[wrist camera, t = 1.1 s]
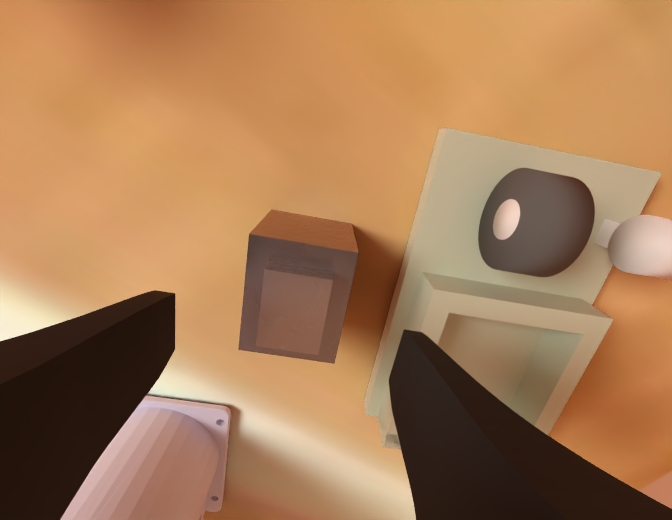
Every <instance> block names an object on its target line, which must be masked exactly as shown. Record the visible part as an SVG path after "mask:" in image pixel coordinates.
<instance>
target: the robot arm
mask: <svg viewBox="0 0 672 520" xmlns="http://www.w3.org/2000/svg"><path fill="white" fill-rule="evenodd" d="M174 350H175V293H168V292H162V291H151V292H147V293H144V294H141V295H138V296H135V297H132V298H129V299H126V300H124V301H121V302H118V303H116V304H113V305H110V306H107V307H105V308H102V309H99V310H96V311H94V312H91V313H88V314H85V315H82V316H80V317H77V318H74V319H71V320H68V321H65V322H62V323H59V324H56V325H52V326H49V327H46V328H43V329H40V330H37V331H34V332H31V333H28V334H24V335H21V336H18V337H14V338H11V339H7V340H4V341H0V520H203V517H204V514H205V511H207V512H218V511H220V510H221V508H222V504H223V495H224V484H225V473H226V462H227V451H228V440H229V429H230V418H231V410H230V409H229V408H228V407H226V406H222V405H214V404H207V403H199V402H191V401H184V400H176V399H168V398H161V397H153V396H146V395H147V393H148V392H149V391H150V389H151V388H152V387H153V385H154V384H155V382H156V381H157V380H158V378H159V377H160V375H161V373H162V372H163V370H164V368H165V366H166V365H167V363H168V361H169V359H170V357H171V355H172V354H173V352H174ZM389 390H390V399H391V407H392V413H393V417H394V422H395V426H396V430H397V434H398V438H399V442H400V446H401V450H402V454H403V458H404V462H405V466H406V470H407V474H408V478H409V483H410V487H411V492H412V497H413V501H414V507H415V514H416V520H672V509H670V508H669V507H667V506H665V505H663V504H661V503H659V502H657V501H656V500H654V499H652V498H650V497H648V496H647V495H645V494H643V493H641V492H640V491H638V490H636V489H634V488H632V487H631V486H629V485H627V484H625V483H624V482H622V481H620V480H618V479H617V478H615V477H613V476H611V475H610V474H608V473H606V472H605V471H603V470H601V469H600V468H598V467H596V466H595V465H593V464H591V463H590V462H588V461H586V460H585V459H583V458H582V457H580V456H579V455H577V454H575V453H574V452H572V451H571V450H569V449H568V448H566V447H565V446H563V445H561V444H560V443H558V442H557V441H555V440H554V439H552V438H551V437H549V436H548V435H546V434H545V433H543V432H542V431H541V430H539V429H538V428H536V427H535V426H534V425H532V424H531V423H529V422H528V421H527V420H525V419H524V418H523V417H521V416H520V415H518V414H517V413H516V412H514V411H513V410H512V409H510V408H509V407H508V406H507V405H505V404H504V403H503V402H501V401H500V400H499V399H498V398H497V397H495V396H494V395H493V394H492V393H491V392H489V391H488V390H487V389H486V388H484V387H483V386H482V385H481V384H480V383H479V382H477V381H476V380H475V379H474V378H473V377H472V376H471V375H469V374H468V373H467V372H466V371H465V370H464V369H463V368H462V367H461V366H460V365H458V364H457V363H456V362H455V361H454V360H453V359H452V358H451V357H450V356H449V355H448V354H447V353H445V352H444V351H443V350H442V349H441V348H440V347H439V346H438V345H437V344H436V343H435V342H433V341H432V340H431V339H430V338H429V337H428V336H427V335H425V334H424V333H423V332H418V331H412V330H405V329H404V330H403V334H402V337H401V340H400V344H399V347H398V350H397V353H396V357H395V360H394V363H393V367H392V370H391V373H390V376H389ZM220 419H221V420H220ZM222 420H223V421H222Z"/></svg>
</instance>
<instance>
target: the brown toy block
mask: <svg viewBox="0 0 672 520" xmlns="http://www.w3.org/2000/svg"><path fill="white" fill-rule="evenodd" d="M358 255H359V251H358V247H357V243H356V239H355V235H354V231H353V227H352V224H350V223H344V222H339V221H333V220H327V219H322V218H316V217H311V216H305V215H299V214H294V213H288V212H283V211H277V210H271V211H270V212H269V213H268V214H267V215H266V216H265V217H264V218H263V219H262V221H261V222H260V223H259V224H258V225H257V226H256V227H255V228H254V229H253V230H252V231H251V233H250V234H249V242H248V253H247V264H246V274H245V285H244V296H243V307H242V317H241V328H240V339H239V350H244V351H251V352H258V353H265V354H272V355H279V356H286V357H293V358H299V359H306V360H313V361H320V362H327V363H335V358H336V354H337V349H338V345H339V340H340V336H341V331H342V327H343V322H344V318H345V313H346V309H347V304H348V300H349V295H350V291H351V286H352V282H353V277H354V273H355V268H356V264H357V259H358Z"/></svg>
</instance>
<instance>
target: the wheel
mask: <svg viewBox="0 0 672 520" xmlns="http://www.w3.org/2000/svg"><path fill="white" fill-rule="evenodd" d="M594 218H595V205H594V200H593V197H592V194H591V192H590V190H589V188H588V187H587V186H586V184H585V183H583V182H582V181H581V180H579V179H577V178H574V177H570V176H565V175H560V174H555V173H550V172H545V171H540V170H535V169H530V168H518V169H515V170H513V171H511V172H510V173H508V174H507V175H505V176H504V177H503V178H502V179H501V180H500V181H499V183H498V184H497V185H496V186H495V188H494V189H493V191H492V192H491V194H490V196H489V198H488V200H487V202H486V204H485V206H484V209H483V212H482V215H481V219H480V224H479V231H478V244H479V250H480V254H481V256H482V258H483V260H484V262H485V263H486V264H487V265H488V266H489V267H491V268H492V269H495V270H501V271H507V272H513V273H518V274H524V275H530V276H536V277H550V276H554V275H556V274H559V273H560V272H562V271H564V270H565V269H567V268H568V267H569V266H570V265H571V264H572V263H573V262H574V261H575V260H576V259H577V258H578V257H579V256H580V254H581V253H582V251H583V250H584V248H585V246H586V244H587V242H588V240H589V238H590V235H591V232H592V229H593V224H594Z"/></svg>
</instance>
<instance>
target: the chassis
mask: <svg viewBox="0 0 672 520" xmlns="http://www.w3.org/2000/svg"><path fill="white" fill-rule="evenodd" d="M518 168H530V169H535V170H540V171H545V172H550V173H555V174H560V175H565V176H570V177H574V178H577V179H579V180H581V181H582V182H583V183H585V184H586V186H587V187H588V188H589V190H590V192H591V194H592V197H593V200H594V205H595V218H594V224H593V229H592V232H591V235H590V238H589V240H588V242H587V244H586V246H585V248H584V250H583V251H582V253H581V254H580V256H579V257H578V258H577V259H576V260H575V261H574V262H573V263H572V264H571V265H570V266H569V267H568V268H567V269H565V270H564V271H562V272H560V273H559V274H556V275H554V276H550V277H536V276H530V275H524V274H518V273H513V272H507V271H501V270H495V269H492V268H491V267H489V266H488V265H487V264H486V263H485V262H484V260H483V258H482V256H481V254H480V250H479V244H478V231H479V224H480V219H481V215H482V212H483V209H484V206H485V204H486V202H487V200H488V198H489V196H490V194H491V192H492V191H493V189H494V188H495V186H496V185H497V184H498V183H499V181H500V180H501V179H502V178H503V177H504V176H505V175H507V174H508V173H510V172H511V171H513V170H515V169H518ZM661 174H662V172H657V171H652V170H647V169H642V168H637V167H633V166H628V165H623V164H618V163H613V162H609V161H604V160H599V159H594V158H589V157H584V156H580V155H575V154H570V153H565V152H560V151H556V150H551V149H546V148H541V147H536V146H531V145H527V144H522V143H517V142H512V141H507V140H502V139H498V138H493V137H488V136H483V135H478V134H474V133H469V132H464V131H459V130H454V129H449V128H443V129H439V132H438V135H437V139H436V143H435V146H434V150H433V153H432V157H431V161H430V164H429V168H428V171H427V175H426V179H425V182H424V186H423V190H422V193H421V197H420V200H419V204H418V208H417V211H416V215H415V218H414V222H413V226H412V229H411V233H410V237H409V240H408V244H407V247H406V251H405V255H404V258H403V262H402V265H401V269H400V273H399V276H398V280H397V284H396V287H395V291H394V294H393V298H392V302H391V305H390V309H389V312H388V316H387V320H386V323H385V327H384V331H383V334H382V338H381V341H380V345H379V349H378V352H377V356H376V359H375V363H374V367H373V370H372V374H371V378H370V381H369V385H368V388H367V392H366V396H365V399H364V408H365V415H368V416H376V417H378V422H379V428H380V434H381V440H382V446H383V447H385V448H393V449H401V446H400V442H399V438H398V434H397V430H396V426H395V422H394V417H393V413H392V407H391V399H390V390H389V376H390V373H391V370H392V367H393V363H394V360H395V357H396V353H397V350H398V347H399V344H400V340H401V337H402V334H403V330H404V329H405V330H412V331H418V332H423V333H424V334H425V335H427V336H428V337H429V338H430V339H431V340H432V341H433V342H435V343H436V344H437V345H438V346H439V347H440V348H441V349H442V350H443V351H444V352H445V353H447V354H448V355H449V356H450V357H451V358H452V359H453V360H454V361H455V362H456V363H457V364H458V365H460V366H461V367H462V368H463V369H464V370H465V371H466V372H467V373H468V374H469V375H471V376H472V377H473V378H474V379H475V380H476V381H477V382H479V383H480V384H481V385H482V386H483V387H484V388H486V389H487V390H488V391H489V392H491V393H492V394H493V395H494V396H495V397H497V398H498V399H499V400H500V401H501V402H503V403H504V404H505V405H507V406H508V407H509V408H510V409H512V410H513V411H514V412H516V413H517V414H518V415H520V416H521V417H523V418H524V419H525V420H527V421H528V422H529V423H531V424H532V425H534V426H535V427H536V428H538V429H539V430H541V431H542V432H543V433H545V434H546V435H549V433H550V432H551V430H552V428H553V426H554V424H555V423H556V421H557V419H558V417H559V416H560V414H561V412H562V410H563V408H564V407H565V405H566V403H567V401H568V400H569V398H570V396H571V394H572V393H573V391H574V389H575V387H576V385H577V384H578V382H579V380H580V378H581V377H582V375H583V373H584V371H585V369H586V368H587V366H588V364H589V362H590V361H591V359H592V357H593V355H594V353H595V352H596V350H597V348H598V346H599V345H600V343H601V341H602V339H603V338H604V336H605V334H606V332H607V330H608V329H609V327H610V325H611V323H612V322H613V320H614V319H613V318H611V317H610V316H608V315H606V314H605V313H603V312H601V311H600V310H598V309H597V308H595V307H593V306H592V305H593V303H594V301H595V299H596V297H597V295H598V293H599V291H600V289H601V288H602V286H603V284H604V282H605V280H606V278H607V276H608V274H609V272H610V270H611V269H612V267H613V265H614V266H615V267H616V268H617V269H619V270H621V271H623V272H627V273H632V274H638V275H643V276H649V277H655V278H660V279H666V280H672V219H667V218H662V217H657V216H652V215H640V214H641V212H642V210H643V208H644V206H645V204H646V202H647V200H648V198H649V196H650V195H651V193H652V191H653V189H654V187H655V185H656V183H657V181H658V179H659V177H660V176H661Z"/></svg>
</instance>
